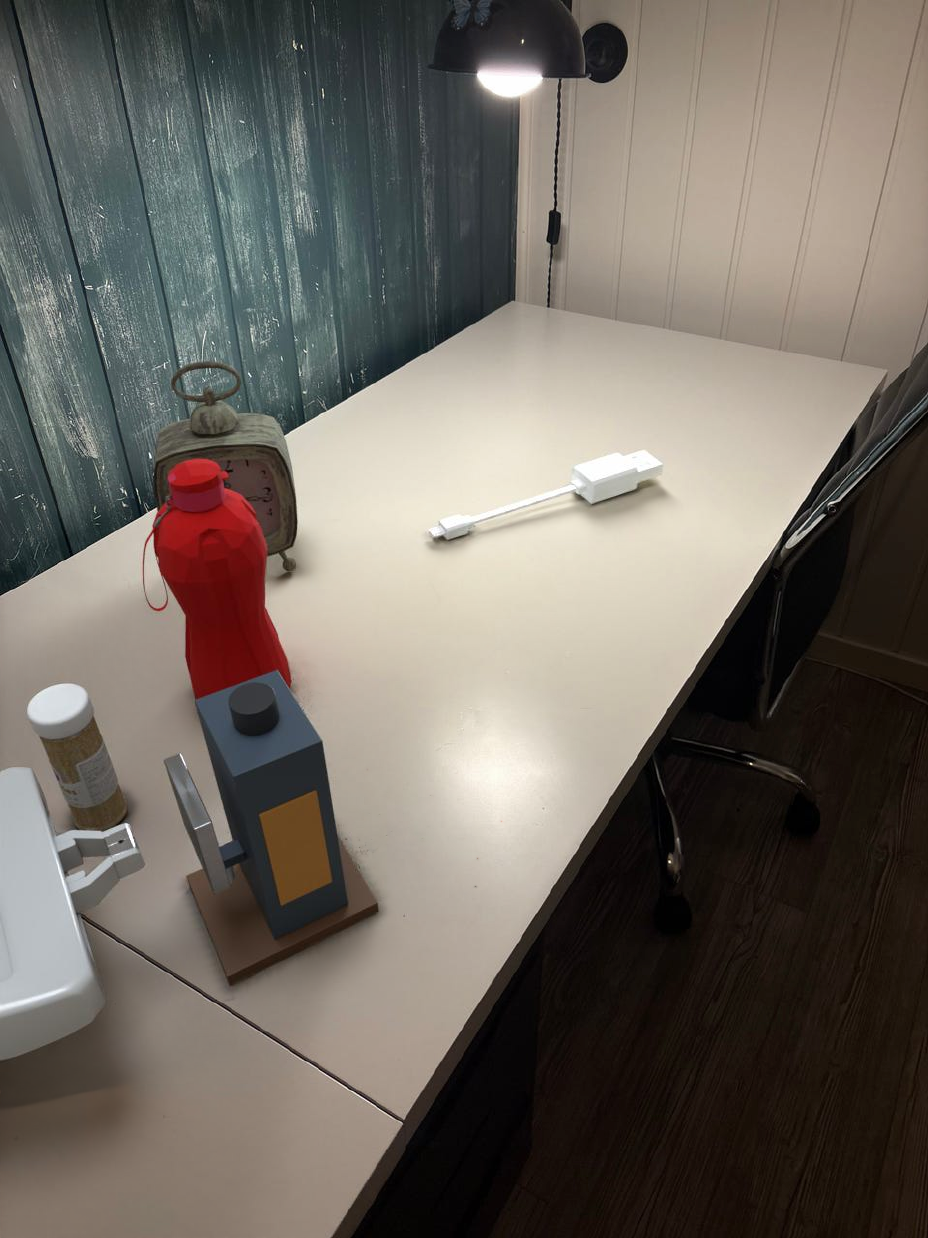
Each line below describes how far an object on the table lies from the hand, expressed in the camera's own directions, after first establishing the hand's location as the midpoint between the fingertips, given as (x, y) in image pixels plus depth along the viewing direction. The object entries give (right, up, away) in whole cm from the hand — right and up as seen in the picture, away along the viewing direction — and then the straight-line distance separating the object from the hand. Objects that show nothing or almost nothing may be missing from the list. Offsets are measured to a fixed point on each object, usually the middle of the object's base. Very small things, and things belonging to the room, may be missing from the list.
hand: (137, 844), depth 62 cm
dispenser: (+7, -7, +10) cm, 14 cm away
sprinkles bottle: (-9, -2, +17) cm, 20 cm away
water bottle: (-1, +8, +29) cm, 30 cm away
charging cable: (+33, +30, +55) cm, 71 cm away
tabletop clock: (-4, +21, +46) cm, 51 cm away
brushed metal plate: (+4, -2, +3) cm, 5 cm away
